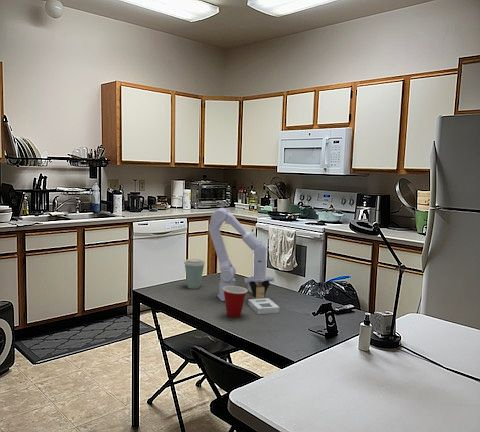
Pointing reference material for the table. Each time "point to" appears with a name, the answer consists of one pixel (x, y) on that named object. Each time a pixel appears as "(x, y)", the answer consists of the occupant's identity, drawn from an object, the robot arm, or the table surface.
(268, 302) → the socket block
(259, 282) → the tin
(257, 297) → the square peg
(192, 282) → the disposable coffee cup
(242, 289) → the plastic cup
